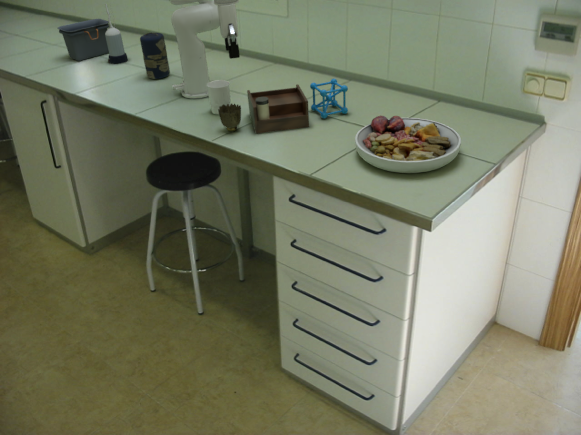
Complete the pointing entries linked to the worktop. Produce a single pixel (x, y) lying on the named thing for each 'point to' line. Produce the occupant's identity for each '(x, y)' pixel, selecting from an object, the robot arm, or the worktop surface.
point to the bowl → (407, 144)
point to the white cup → (218, 94)
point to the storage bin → (85, 38)
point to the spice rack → (280, 110)
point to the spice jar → (262, 108)
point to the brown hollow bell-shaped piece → (230, 116)
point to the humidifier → (115, 44)
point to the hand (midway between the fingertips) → (232, 53)
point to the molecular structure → (329, 98)
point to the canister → (155, 55)
